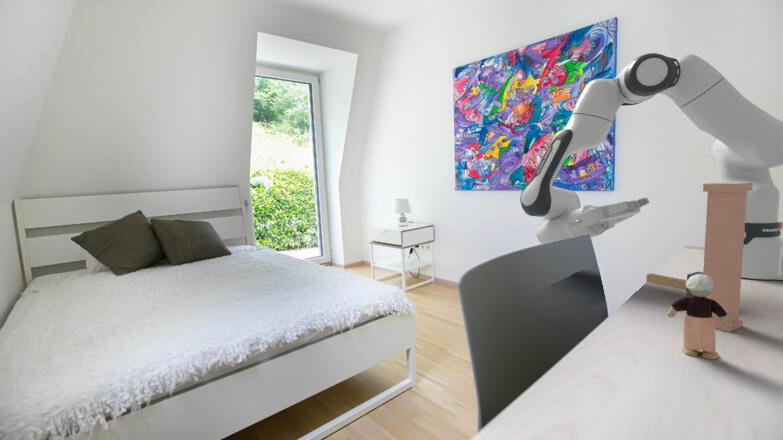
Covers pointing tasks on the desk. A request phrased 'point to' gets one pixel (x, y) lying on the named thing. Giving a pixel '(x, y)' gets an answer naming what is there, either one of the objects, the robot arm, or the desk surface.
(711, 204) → the stand
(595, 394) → the desk surface
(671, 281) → the mallet
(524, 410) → the desk surface
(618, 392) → the desk surface
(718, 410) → the desk surface
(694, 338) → the grandmother figurine
